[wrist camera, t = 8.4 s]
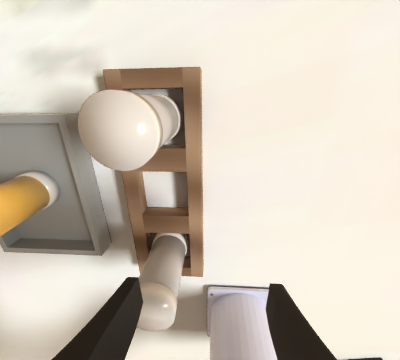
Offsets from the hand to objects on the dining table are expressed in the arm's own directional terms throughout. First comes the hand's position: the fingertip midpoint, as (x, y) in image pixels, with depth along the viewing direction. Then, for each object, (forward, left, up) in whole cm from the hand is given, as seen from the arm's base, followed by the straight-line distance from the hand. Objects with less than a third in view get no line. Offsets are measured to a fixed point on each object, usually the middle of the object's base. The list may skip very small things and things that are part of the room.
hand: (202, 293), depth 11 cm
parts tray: (+2, +17, -9) cm, 19 cm away
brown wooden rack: (+2, +4, -9) cm, 10 cm away
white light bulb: (+8, +4, -9) cm, 13 cm away
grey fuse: (-4, +4, -9) cm, 11 cm away
